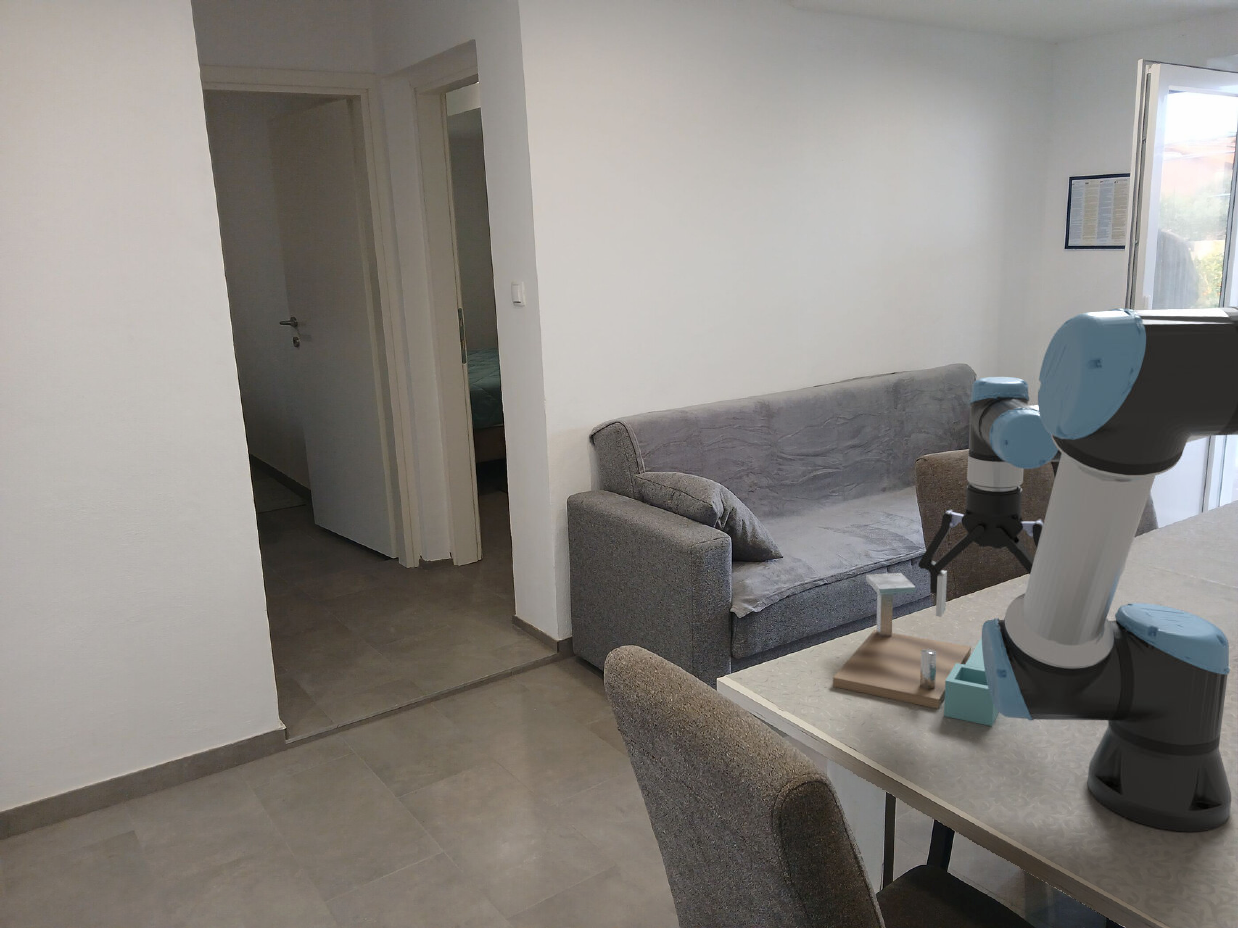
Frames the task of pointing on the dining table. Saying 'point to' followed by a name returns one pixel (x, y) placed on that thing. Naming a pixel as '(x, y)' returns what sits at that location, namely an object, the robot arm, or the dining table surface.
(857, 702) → the dining table surface
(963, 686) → the link
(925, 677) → the cylinder
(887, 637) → the board
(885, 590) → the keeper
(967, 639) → the dining table surface
